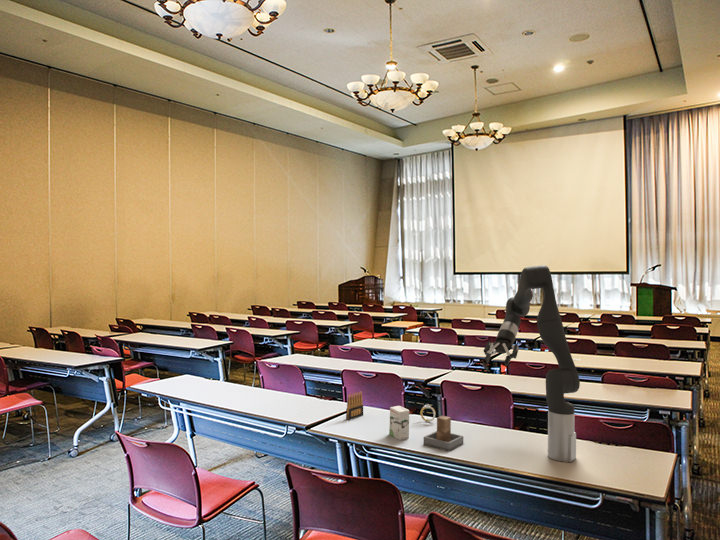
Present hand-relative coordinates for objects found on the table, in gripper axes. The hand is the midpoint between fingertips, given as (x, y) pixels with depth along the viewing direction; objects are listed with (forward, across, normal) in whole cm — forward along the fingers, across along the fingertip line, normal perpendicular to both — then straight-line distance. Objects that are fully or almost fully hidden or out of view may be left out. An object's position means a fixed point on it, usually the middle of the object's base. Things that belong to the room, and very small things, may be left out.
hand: (496, 363), depth 214 cm
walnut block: (+39, -11, +4) cm, 40 cm away
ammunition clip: (+36, -62, +8) cm, 72 cm away
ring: (+24, -32, +20) cm, 45 cm away
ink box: (+42, -30, +2) cm, 52 cm away
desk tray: (+39, -11, +4) cm, 41 cm away
